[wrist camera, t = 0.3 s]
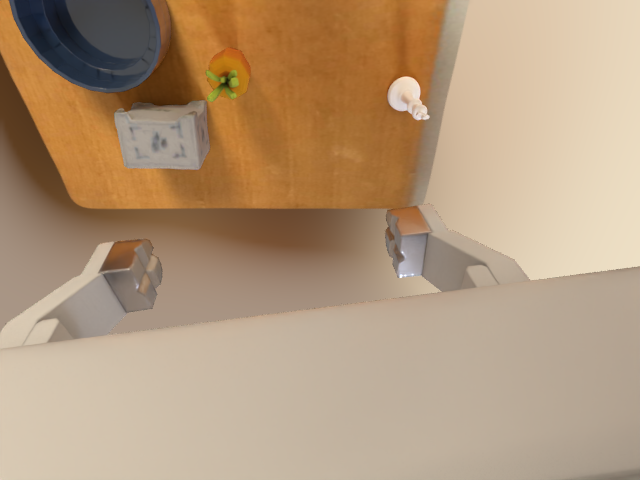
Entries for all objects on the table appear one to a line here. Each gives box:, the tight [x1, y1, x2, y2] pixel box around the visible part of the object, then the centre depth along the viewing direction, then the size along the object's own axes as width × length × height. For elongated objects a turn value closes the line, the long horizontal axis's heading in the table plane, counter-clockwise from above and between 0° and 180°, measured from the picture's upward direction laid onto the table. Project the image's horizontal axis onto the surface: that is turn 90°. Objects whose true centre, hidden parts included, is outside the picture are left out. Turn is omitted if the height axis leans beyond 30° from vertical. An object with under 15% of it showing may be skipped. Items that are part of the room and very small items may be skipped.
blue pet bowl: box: [9, 0, 171, 93], centre depth 43 cm, size 15×15×6 cm
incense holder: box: [114, 100, 210, 170], centre depth 51 cm, size 10×8×10 cm
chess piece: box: [387, 77, 430, 120], centre depth 52 cm, size 5×5×10 cm
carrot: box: [206, 48, 251, 102], centre depth 45 cm, size 5×5×15 cm
